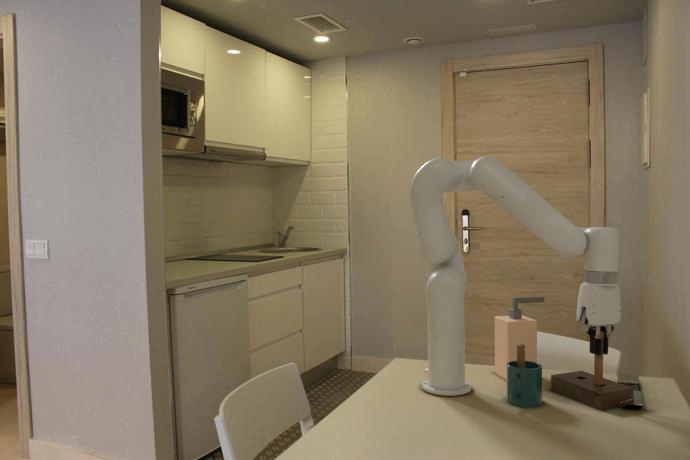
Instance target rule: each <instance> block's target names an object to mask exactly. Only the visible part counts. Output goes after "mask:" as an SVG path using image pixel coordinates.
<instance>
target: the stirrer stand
mask: <svg viewBox="0 0 690 460" xmlns="http://www.w3.org/2000/svg"><path fill="white" fill-rule="evenodd" d="M550 391H552V392H554V393H557V394H559V395H562V396H564V397H567V398H569V399H572V400H574V401H577V402H579V403H581V404H584V405H587V406H589V407H591V408H594V409H597V410H599V411H605V410H611V409H615V408H621V407H627V406H631V405H634V387H632V386H628V385H626V384H623V383H620V382H617V381H614V380H611V379H608V378H605V377H603V385H596V384H594V373H590V372H587V371H584V370H576V371H569V372H562V373H556V374H551V375H550ZM629 399H633V401H627V402H623V401H626V400H629ZM621 402H622V403H621Z"/></svg>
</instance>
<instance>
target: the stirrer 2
mask: <svg viewBox="0 0 690 460" xmlns="http://www.w3.org/2000/svg"><path fill="white" fill-rule="evenodd" d="M603 338H604V332H603V331H600V339H602V354H601V355H595V354H594V362H593V363H594V365H593V366H594V367H593V375H594V384H596V385H603V378H604V354H603Z"/></svg>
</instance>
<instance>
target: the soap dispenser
mask: <svg viewBox="0 0 690 460" xmlns="http://www.w3.org/2000/svg"><path fill="white" fill-rule="evenodd" d="M537 303H545V296H520V297H512V307H511V308H509V309H508V315H495V316H494V374H496V375H498V376H499V377H501V378H503V379H505V380H506V381H507V363H508V362H510V361H516V360H517V345H518V344H523V345H525V361H532V362H536V363H538V320H537V319H533V318H531V317H528V316H525V315H524V314H523V310H522V309H521V308H519V304H537ZM522 314H523V315H522Z"/></svg>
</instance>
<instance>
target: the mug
mask: <svg viewBox="0 0 690 460" xmlns="http://www.w3.org/2000/svg"><path fill="white" fill-rule="evenodd" d="M506 402H507V403H509V404H511V405H513V406H516V407H521V408H535V407H539V406H541V405H542V404H543V365H542V364H541V363H539V362H537V363H536V362H532V361H525V369H522V368H517V360H516V361H510V362H508V363H507V380H506Z"/></svg>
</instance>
